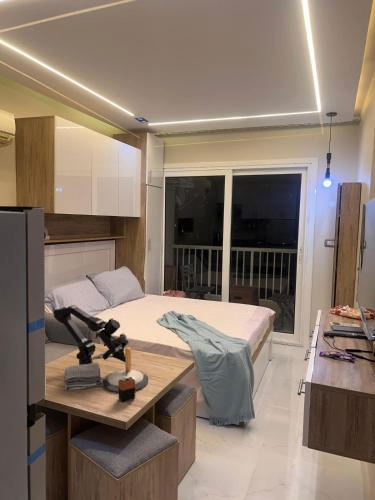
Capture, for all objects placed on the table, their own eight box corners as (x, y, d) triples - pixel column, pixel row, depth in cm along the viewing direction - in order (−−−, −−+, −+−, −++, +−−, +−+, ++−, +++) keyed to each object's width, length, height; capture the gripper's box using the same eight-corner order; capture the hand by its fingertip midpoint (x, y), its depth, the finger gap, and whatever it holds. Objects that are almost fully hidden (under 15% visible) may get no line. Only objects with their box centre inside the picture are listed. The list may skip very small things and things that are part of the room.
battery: (118, 398, 168) (118, 378, 167) (131, 395, 172) (131, 374, 171) (121, 402, 165) (121, 381, 164) (135, 398, 168) (135, 378, 167)
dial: (140, 387, 176) (140, 360, 175) (104, 386, 176) (103, 360, 175) (145, 371, 195) (145, 347, 193) (112, 371, 195) (111, 347, 193)
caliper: (123, 353, 227) (123, 343, 226) (123, 353, 226) (123, 343, 225) (90, 359, 216) (90, 348, 216) (91, 359, 215) (91, 349, 215)
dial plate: (97, 392, 174) (97, 388, 174) (109, 372, 197) (109, 369, 197) (144, 393, 173) (144, 390, 173) (151, 373, 196) (151, 370, 196)
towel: (64, 379, 188) (64, 365, 188) (100, 375, 194) (100, 360, 194) (64, 393, 174) (64, 377, 173) (103, 387, 180) (103, 372, 179)
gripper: (107, 335, 185) (126, 359, 182) (125, 325, 202) (143, 347, 200) (94, 348, 189) (112, 372, 186) (113, 337, 206) (131, 358, 203)
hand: (125, 361), depth 193 cm, fingers closed, pressing on dial
